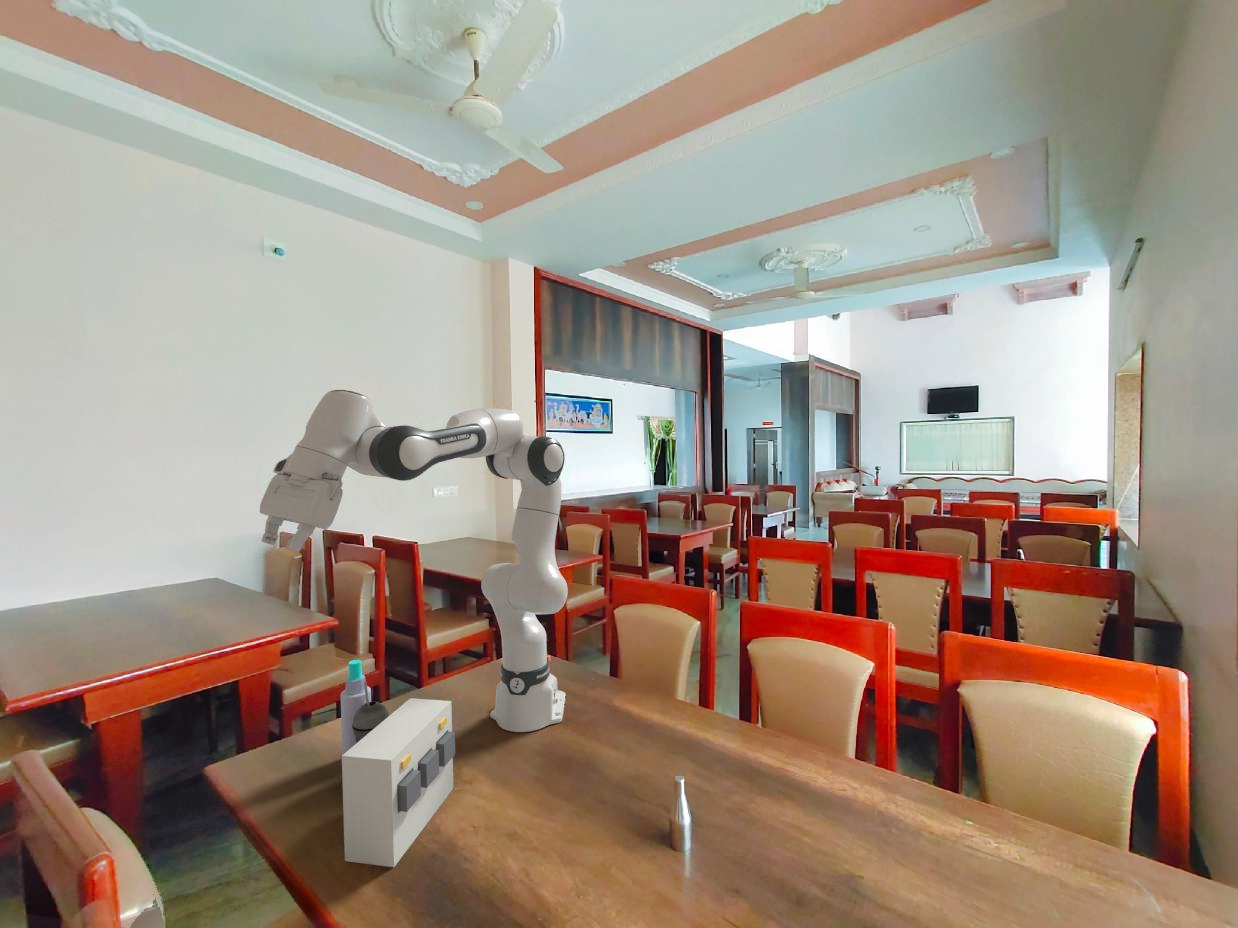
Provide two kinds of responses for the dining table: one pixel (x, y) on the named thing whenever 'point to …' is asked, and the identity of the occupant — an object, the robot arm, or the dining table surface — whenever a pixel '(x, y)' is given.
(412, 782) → the key
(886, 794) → the dining table surface
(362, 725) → the beverage cup
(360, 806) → the key panel
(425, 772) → the key middle
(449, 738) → the key
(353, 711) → the spray bottle
